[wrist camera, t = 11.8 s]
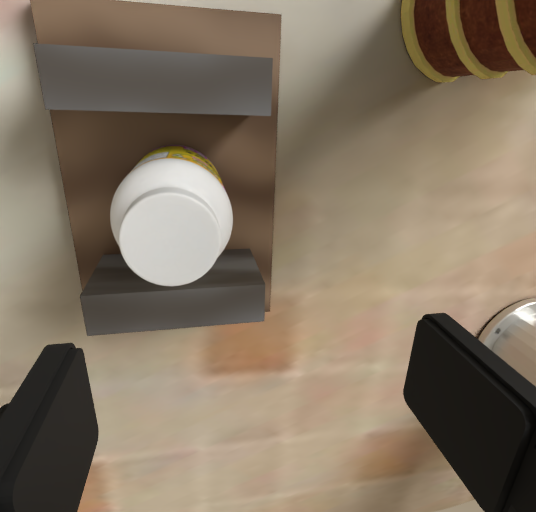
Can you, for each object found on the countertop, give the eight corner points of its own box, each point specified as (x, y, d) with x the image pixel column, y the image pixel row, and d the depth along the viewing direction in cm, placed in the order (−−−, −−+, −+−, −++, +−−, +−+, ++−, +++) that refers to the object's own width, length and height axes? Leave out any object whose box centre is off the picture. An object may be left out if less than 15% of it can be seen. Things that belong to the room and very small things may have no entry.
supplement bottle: (235, 203, 30) (265, 266, 18) (164, 241, 30) (149, 328, 18) (193, 126, 27) (197, 143, 16) (114, 168, 27) (61, 216, 16)
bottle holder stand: (266, 303, 36) (288, 357, 28) (92, 316, 33) (63, 381, 25) (276, 19, 27) (312, -15, 19) (37, -1, 24) (-34, -51, 16)
